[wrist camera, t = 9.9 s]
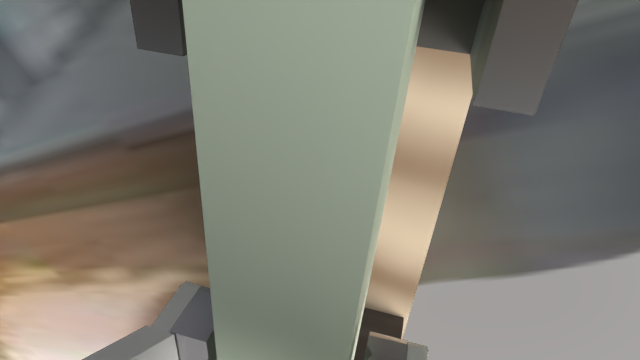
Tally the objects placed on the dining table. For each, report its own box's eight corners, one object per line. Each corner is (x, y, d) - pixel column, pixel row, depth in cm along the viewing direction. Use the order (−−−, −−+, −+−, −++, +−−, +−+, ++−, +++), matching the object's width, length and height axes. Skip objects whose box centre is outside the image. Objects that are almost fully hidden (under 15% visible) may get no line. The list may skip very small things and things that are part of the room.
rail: (299, -119, 9) (169, -131, 5) (446, -106, 8) (434, -108, 4) (278, 402, 20) (233, 529, 16) (341, 421, 20) (311, 558, 16)
